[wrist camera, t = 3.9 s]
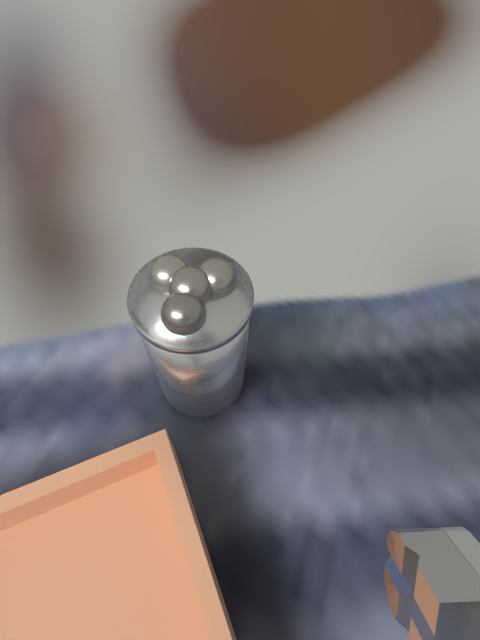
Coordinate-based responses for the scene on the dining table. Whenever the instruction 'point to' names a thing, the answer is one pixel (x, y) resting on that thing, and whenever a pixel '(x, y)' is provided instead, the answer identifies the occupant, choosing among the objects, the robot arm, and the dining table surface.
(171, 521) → the terracotta bin
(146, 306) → the silver metal cylinder
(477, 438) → the dining table surface
